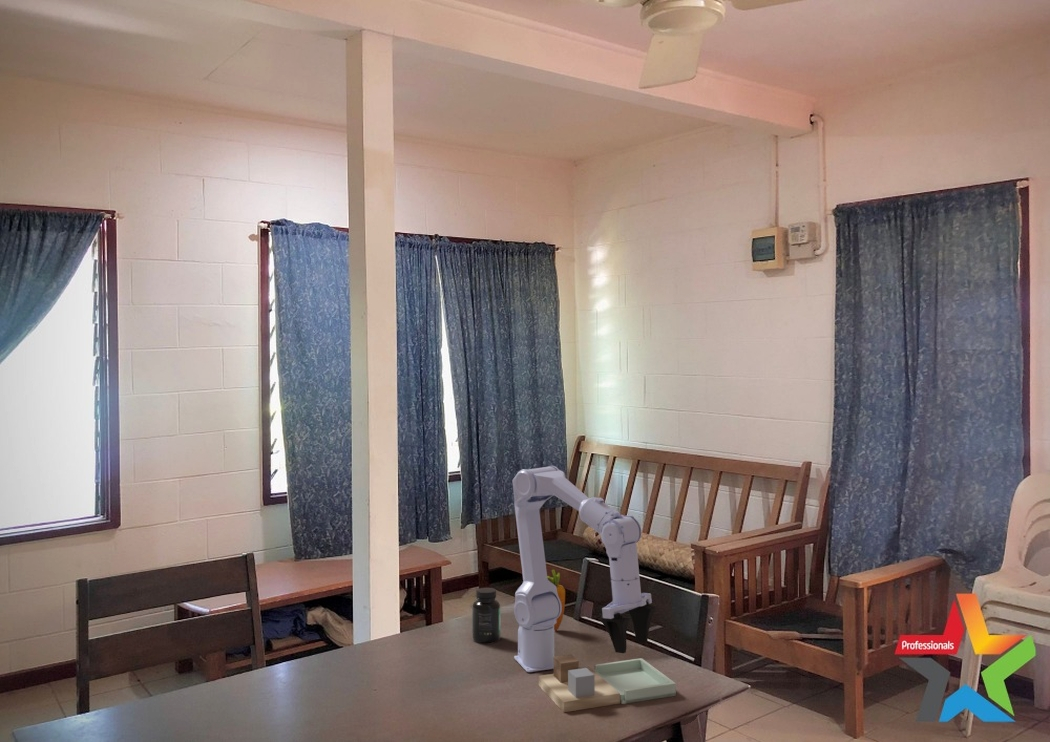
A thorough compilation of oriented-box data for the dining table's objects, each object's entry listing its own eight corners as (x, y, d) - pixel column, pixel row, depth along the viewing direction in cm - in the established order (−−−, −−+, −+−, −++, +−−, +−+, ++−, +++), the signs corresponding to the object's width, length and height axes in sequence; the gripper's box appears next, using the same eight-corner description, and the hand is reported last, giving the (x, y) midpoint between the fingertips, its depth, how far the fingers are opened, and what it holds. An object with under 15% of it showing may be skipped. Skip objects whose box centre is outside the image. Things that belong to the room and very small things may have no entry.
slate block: (568, 690, 169) (568, 670, 169) (586, 687, 171) (586, 667, 170) (575, 697, 165) (575, 677, 165) (594, 695, 167) (594, 674, 167)
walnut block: (553, 675, 177) (553, 656, 177) (571, 673, 178) (571, 654, 178) (560, 682, 173) (560, 663, 173) (578, 680, 174) (578, 660, 174)
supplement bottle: (506, 638, 206) (506, 589, 205) (486, 646, 201) (486, 596, 200) (486, 632, 210) (485, 584, 210) (466, 639, 205) (466, 590, 205)
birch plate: (538, 685, 177) (538, 675, 177) (591, 677, 181) (591, 668, 181) (563, 712, 164) (563, 702, 164) (619, 703, 168) (619, 693, 168)
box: (591, 676, 181) (591, 665, 181) (641, 669, 185) (641, 658, 185) (622, 704, 167) (622, 691, 167) (675, 695, 171) (675, 683, 171)
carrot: (563, 634, 208) (563, 574, 208) (544, 633, 209) (543, 573, 209) (566, 628, 213) (566, 568, 213) (547, 626, 214) (547, 568, 214)
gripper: (621, 586, 161) (627, 659, 160) (661, 572, 172) (668, 640, 171) (591, 584, 165) (597, 655, 165) (632, 570, 176) (638, 636, 176)
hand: (631, 647), depth 168 cm, fingers open, 7 cm apart
